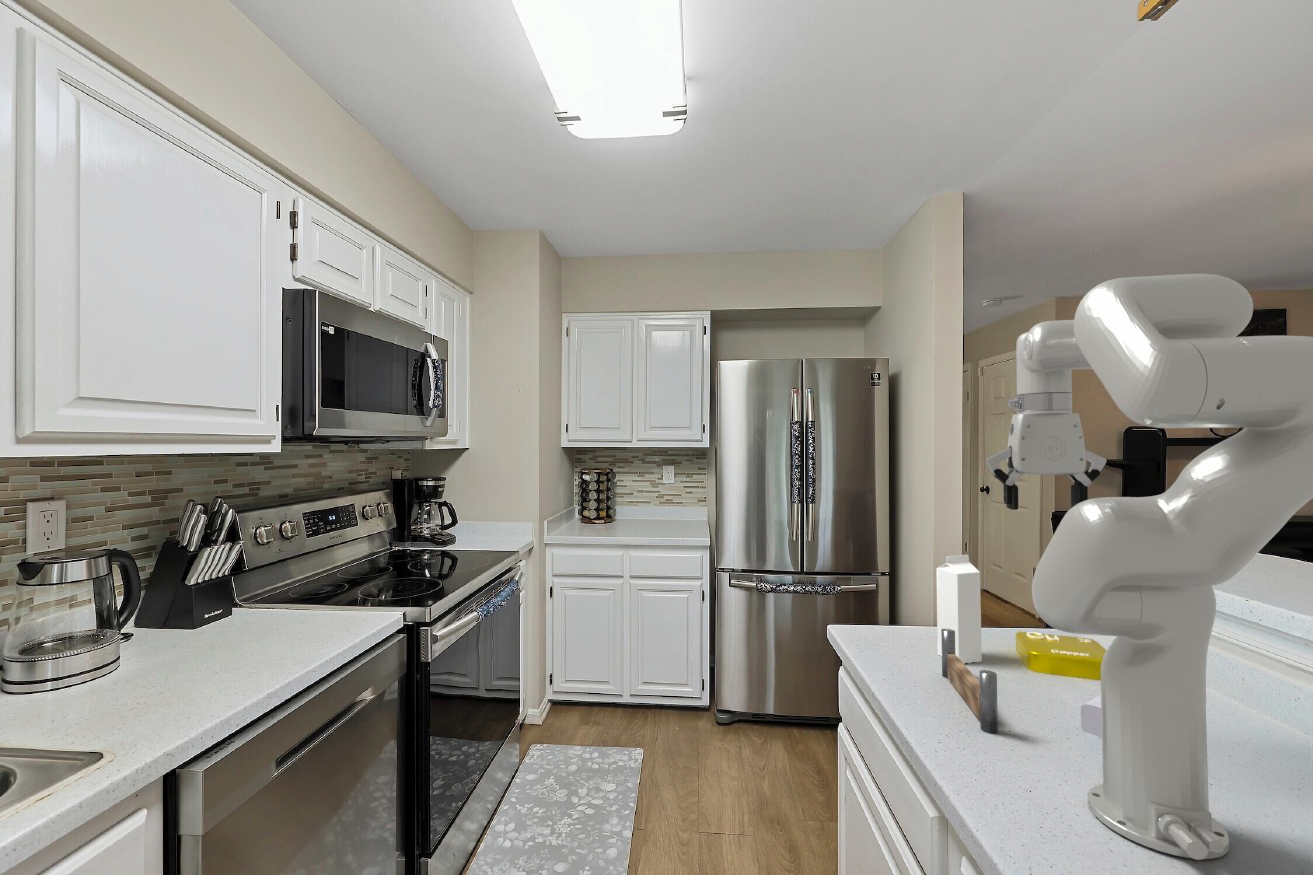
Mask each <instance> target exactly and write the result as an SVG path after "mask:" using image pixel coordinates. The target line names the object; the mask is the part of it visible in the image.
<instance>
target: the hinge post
mask: <svg viewBox="0 0 1313 875" xmlns="http://www.w3.org/2000/svg"><path fill="white" fill-rule="evenodd" d="M979 682H980V720H979V721H980V725H979V727H980V730H981V731H983V732H985V733H987V734H998V732H999V722H998V721H999V717H998V716H999V714H998V713H999V712H998V674H997V673H996V672H995V671H992V670H989V669H988V670H987V669H981V670H979Z"/></svg>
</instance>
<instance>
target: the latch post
mask: <svg viewBox="0 0 1313 875" xmlns="http://www.w3.org/2000/svg"><path fill="white" fill-rule="evenodd" d="M941 637H942V657H941V675H942V677H943V678H945V677H946V678H945V679H948V665H947V654H953V655H955V631H954V630H952V629H941Z"/></svg>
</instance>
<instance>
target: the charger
mask: <svg viewBox="0 0 1313 875" xmlns="http://www.w3.org/2000/svg"><path fill="white" fill-rule="evenodd" d="M1080 726H1081V729H1082V730H1083V731H1084V732H1086V733H1088V734H1091V735H1093V736H1096V737H1100V738H1102V718H1101V694H1100V695H1098V696H1096V697H1095V698H1092V699H1091V700H1089V701H1087V702H1085V703H1083V704H1082V705H1080Z"/></svg>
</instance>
